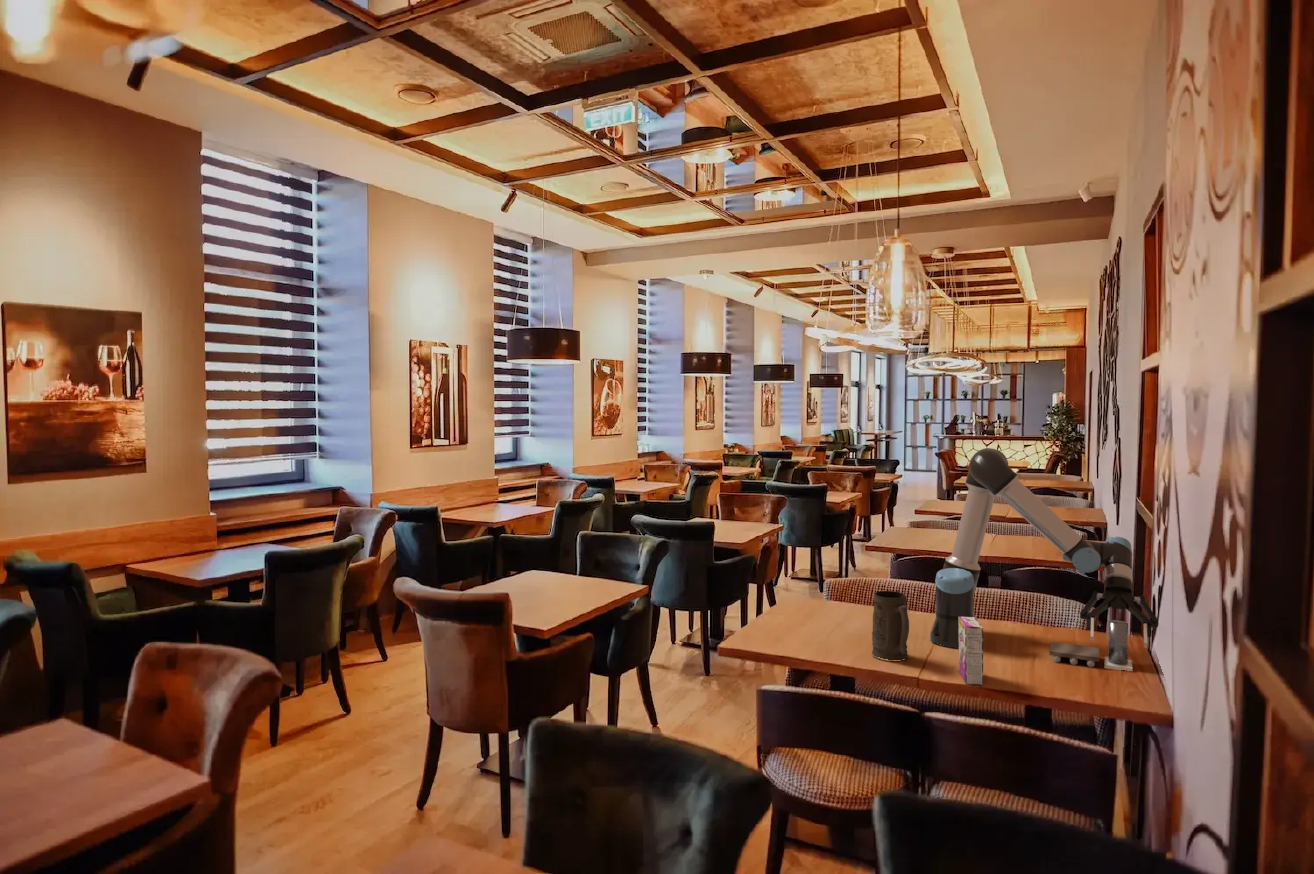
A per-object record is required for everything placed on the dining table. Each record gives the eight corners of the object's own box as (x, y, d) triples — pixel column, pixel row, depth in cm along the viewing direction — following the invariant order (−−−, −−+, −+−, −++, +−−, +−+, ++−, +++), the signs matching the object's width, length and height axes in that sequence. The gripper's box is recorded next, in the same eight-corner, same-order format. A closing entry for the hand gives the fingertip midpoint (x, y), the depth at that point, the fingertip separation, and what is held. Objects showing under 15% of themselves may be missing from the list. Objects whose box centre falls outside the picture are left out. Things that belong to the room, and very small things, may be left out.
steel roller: (1108, 663, 229) (1108, 623, 229) (1108, 658, 234) (1108, 619, 233) (1127, 665, 227) (1128, 625, 226) (1127, 661, 231) (1127, 621, 231)
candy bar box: (957, 671, 226) (957, 616, 226) (975, 672, 225) (975, 616, 225) (964, 684, 215) (964, 626, 215) (983, 685, 214) (984, 627, 214)
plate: (1104, 668, 228) (1104, 664, 228) (1104, 659, 236) (1104, 656, 236) (1132, 671, 224) (1132, 668, 224) (1131, 663, 232) (1131, 659, 232)
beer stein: (863, 652, 244) (865, 591, 242) (890, 648, 248) (893, 587, 247) (896, 670, 230) (899, 605, 228) (924, 665, 234) (927, 601, 233)
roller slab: (1049, 661, 234) (1049, 651, 234) (1051, 651, 244) (1051, 641, 244) (1098, 668, 228) (1098, 657, 228) (1099, 658, 237) (1099, 647, 237)
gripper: (1165, 593, 237) (1168, 654, 224) (1073, 584, 249) (1070, 642, 237) (1166, 579, 232) (1169, 641, 219) (1072, 571, 244) (1070, 629, 232)
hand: (1118, 642), depth 228 cm, fingers open, 13 cm apart
